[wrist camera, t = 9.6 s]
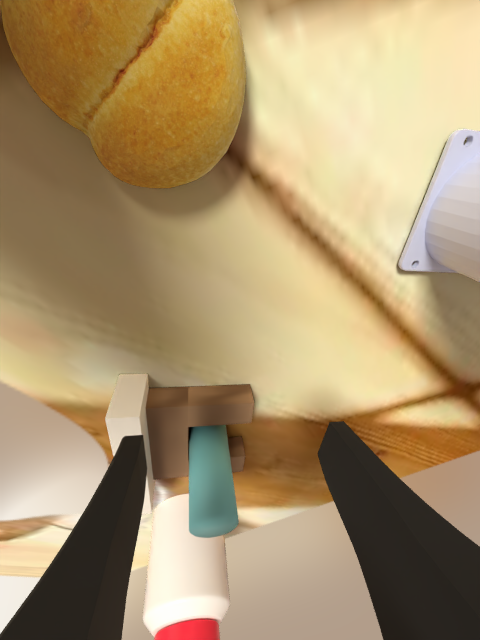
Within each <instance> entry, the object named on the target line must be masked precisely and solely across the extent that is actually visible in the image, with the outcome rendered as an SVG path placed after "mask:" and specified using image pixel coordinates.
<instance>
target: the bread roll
mask: <svg viewBox="0 0 480 640" xmlns="http://www.w3.org/2000/svg"><path fill="white" fill-rule="evenodd" d="M0 8H1V14H2V21H3V27H4V31H5V34H6V38H7V41H8V43H9V46H10V49H11V51H12V54H13V56H14V58H15V59H16V61H17V63H18V66H19V67H20V69H21V71H22V73H23V74H24V76H25V78H26V79H27V81H28V82H29V84H30V85H31V87H32V88H33V89H34V91H35V92H36V93H37V95H38V96H39V97H40V98H41V100H42V101H43V102H44V103H45V104H46V105H47V106H48V107H49V108H50V109H51V110H52V111H53V112H54V113H56V114H57V115H58V116H59V117H60V118H61V119H62V120H64V121H65V122H67V123H69V124H70V125H72V126H73V127H75V128H77V129H79V130H81V131H82V132H83V133H85V134H86V135H87V136H88V137H89V138H90V140H91V144H92V147H93V149H94V151H95V153H96V155H97V157H98V159H99V160H100V161H101V163H102V164H103V166H104V167H105V168H107V169H108V170H109V171H110V172H111V173H112V174H113V175H114V176H115V177H117V178H118V179H120V180H122V181H124V182H126V183H129V184H132V185H135V186H141V187H148V188H172V187H175V186H179V185H183V184H186V183H189V182H192V181H195V180H197V179H199V178H201V177H202V176H204V175H205V174H206V173H208V172H209V171H210V170H211V169H212V168H213V167H214V166H215V165H216V164H217V163H218V162H219V161H220V159H221V158H222V157H223V156H224V154H225V153H226V152H227V150H228V148H229V146H230V144H231V142H232V140H233V138H234V136H235V133H236V131H237V128H238V124H239V121H240V117H241V113H242V108H243V103H244V96H245V82H246V63H245V55H244V48H243V41H242V30H241V24H240V21H239V18H238V14H237V11H236V8H235V5H234V2H233V0H0Z"/></svg>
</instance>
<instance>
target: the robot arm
mask: <svg viewBox="0 0 480 640" xmlns="http://www.w3.org/2000/svg"><path fill="white" fill-rule="evenodd" d="M466 137H467V142H466V144H465V145H464V140H465V139H466ZM414 261H415V263H414V264H413V265H412V263H413V262H414ZM398 266H399V268H400V269H402V270H405V271H425V272H449V273H460V274H463V275H465V276H467V277H469V278H471V279H474V280H476V281H478V282H480V131H475V130H468V129H459V130H455V131H454V132H453V133H452V134H451V135H450V136H449V138H448V140H447V143H446V145H445V148H444V150H443V153H442V155H441V158H440V160H439V163H438V165H437V168H436V170H435V173H434V175H433V178H432V180H431V183H430V185H429V188H428V190H427V193H426V195H425V198H424V200H423V203H422V205H421V208H420V210H419V213H418V215H417V218H416V220H415V223H414V225H413V228H412V230H411V233H410V235H409V238H408V240H407V243H406V245H405V248H404V250H403V253H402V255H401V258H400V260H399V264H398ZM318 457H319V460H320V464H321V467H322V471H323V474H324V477H325V480H326V483H327V485H328V488H329V490H330V492H331V495H332V497H333V500H334V502H335V504H336V507H337V509H338V511H339V514H340V516H341V519H342V521H343V523H344V525H345V528H346V530H347V533H348V535H349V537H350V540H351V542H352V544H353V547H354V550H355V552H356V554H357V557H358V560H359V563H360V566H361V569H362V572H363V575H364V578H365V581H366V584H367V587H368V590H369V593H370V597H371V599H372V603H373V606H374V609H375V612H376V616H377V619H378V622H379V625H380V629H381V633H382V636H383V639H384V640H480V547H479V546H478V545H477V544H475V543H474V542H473V541H471V540H470V539H469V538H468V537H466V536H465V535H464V534H462V533H461V532H460V531H459V530H457V529H456V528H455V527H454V526H452V525H451V524H450V523H449V522H448V521H446V520H445V519H444V518H443V517H442V516H440V515H439V514H438V513H437V512H436V511H435V510H433V509H432V508H431V507H430V506H429V505H428V504H427V503H425V502H424V501H423V500H422V499H421V498H420V497H419V496H418V495H417V494H415V493H414V492H413V491H412V490H411V489H410V488H409V487H408V486H407V485H406V484H405V483H404V482H403V481H401V479H400V478H398V477H397V476H396V475H395V474H394V473H393V472H392V471H391V470H390V469H389V468H388V467H387V466H386V465H385V464H384V463H383V462H382V461H381V460H380V459H379V458H378V457H377V456H376V455H375V454H374V453H373V451H372V450H371V449H370V448H369V447H368V446H367V445H366V444H365V443H364V442H363V441H362V440H361V439H360V438H359V437H358V436H357V435H356V434H355V433H354V432H353V431H352V430H351V429H350V427H349V426H348V425H347V424H346V423H345V422H344V421H342V422H330V423H329V425H328V428H327V431H326V433H325V436H324V438H323V441H322V443H321V446H320V449H319V451H318ZM146 477H147V462H146V454H145V446H144V438H143V435H132V436H124V437H123V438H122V440H121V442H120V445H119V447H118V449H117V451H116V453H115V456H114V458H113V460H112V462H111V464H110V466H109V468H108V470H107V471H106V473H105V475H104V477H103V479H102V481H101V483H100V485H99V486H98V488H97V490H96V492H95V494H94V495H93V497H92V499H91V501H90V502H89V504H88V506H87V508H86V509H85V511H84V512H83V514H82V516H81V517H80V519H79V521H78V522H77V524H76V525H75V527H74V529H73V530H72V532H71V534H70V535H69V537H68V538H67V540H66V542H65V543H64V545H63V546H62V548H61V549H60V551H59V552H58V554H57V555H56V557H55V558H54V560H53V561H52V563H51V564H50V566H49V567H48V569H47V570H46V571H45V573H44V574H43V576H42V577H41V579H40V580H39V582H38V583H37V584H36V586H35V587H34V589H33V590H32V592H31V593H30V594H29V596H28V597H27V598H26V600H25V601H24V603H23V604H22V605H21V607H20V608H19V609H18V611H17V612H16V614H15V615H14V616H13V618H12V619H11V620H10V622H9V623H8V624H7V626H6V627H5V628H4V630H3V631H2V633H1V634H0V640H121V638H122V629H123V620H124V612H125V603H126V596H127V589H128V583H129V577H130V572H131V567H132V562H133V556H134V551H135V546H136V541H137V536H138V530H139V525H140V520H141V515H142V509H143V504H144V498H145V488H146Z"/></svg>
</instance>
